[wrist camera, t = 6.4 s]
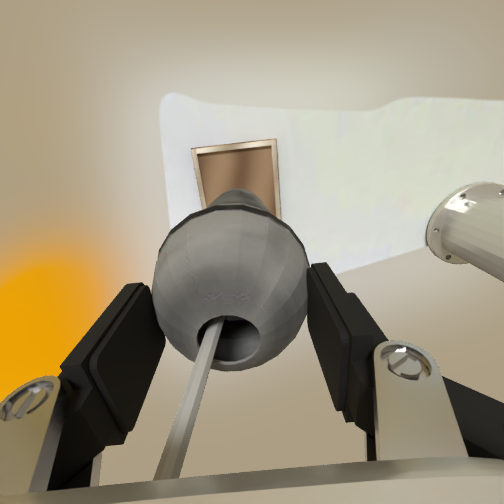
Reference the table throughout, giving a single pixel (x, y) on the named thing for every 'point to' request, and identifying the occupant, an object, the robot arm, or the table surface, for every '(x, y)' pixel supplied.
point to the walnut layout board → (239, 171)
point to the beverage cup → (226, 298)
